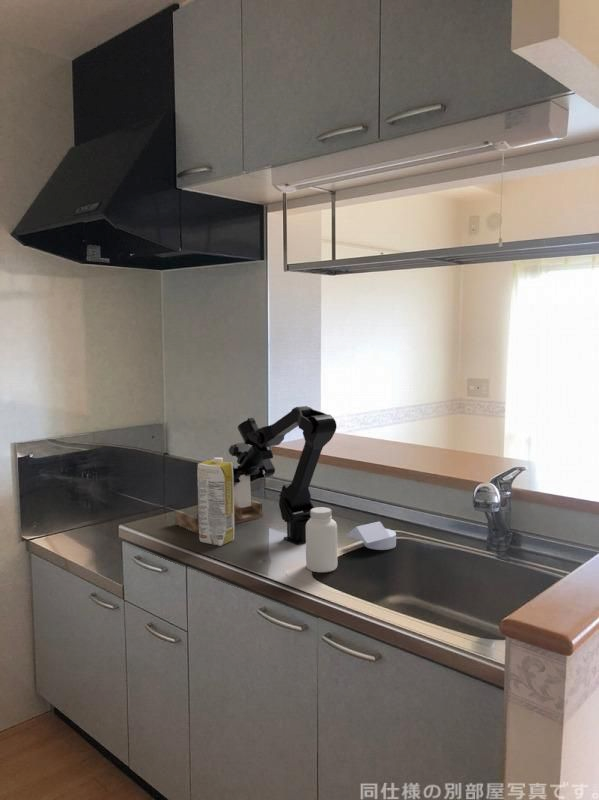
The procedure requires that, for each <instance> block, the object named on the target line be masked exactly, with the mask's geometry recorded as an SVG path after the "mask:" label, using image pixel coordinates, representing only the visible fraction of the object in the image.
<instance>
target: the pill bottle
mask: <svg viewBox="0 0 599 800" xmlns="http://www.w3.org/2000/svg"><path fill="white" fill-rule="evenodd" d="M310 516H311V518H310V519H309V521H307V523H306V542H305V565H306V568H307V569H308V571H311V572H314V573H315V572H316V573H330V572H333V571H335V570H336V569H337V568H338V524H337V522H336V521H335V520H334V519H333V516H332V509H331V508H330V507H324V506H320V507H318V506H317V507H314V508H313V509H311V510H310Z"/></svg>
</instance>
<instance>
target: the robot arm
mask: <svg viewBox="0 0 599 800" xmlns="http://www.w3.org/2000/svg"><path fill="white" fill-rule="evenodd" d="M296 428H298V429H300V430H301V431H302V435H303V439H304V445H303V448H302V450H301V454H300V457H299V460H298V463H297V466H296V469H295V473H294V476H293V479H292V482H291V483H287V484H283V485H282V487H281V492H280V494H279V495H278V497H279V501H278V505H279V510H280V516H281V519H282V521H284V522H285V523H286V533H287V534H286V535H287V536H283V540H285V541H288V542H290V543H293V544H295V545H301V544H303V543H306V523H307V521H309V520H310V519H311V516H310V510H311V509H313V508H315V507H314V504H313V503H312V501H311V497H312V495H311V492H310V489H309V487H310V484H311V482H312V479H313V476H314V473H315V470H316V468H317V464H318V462H319V459H320V455H321V454H322V450H323V449H324V447H325V446H326V445H327V444H328V443H329V442H330V441H331V440H332V439H333V437H334V434H335V433H336V431H337V422H336V419H335V418H334V417H333V415H331V414H327V413H325V412H322V411H318V410H316V409H313V408H312V407H309V406H307V405H305V406H302V405H301V406H296V407H293V408H292V409H291V411H289V412H288V413H286V414H285V415H283V417H281V418H280V419H278V420H277V421H276V422H274V423H272V424H268V425H265V426H263V427H262V426H261V427H260V428H259V426H258V424H257V422H256V419H255V418H254V417H249V418H247V420H244V421H243V422H241V423H240V424H238V426H237V430H238V432H239V434H240V436H241V438H242V440H243V442H239V443H234V444H231V445H230V446H229V448H228V453H229V454H230V455H231V457H236V458H237V459H236V463H237V465H238V464H240V466H237V467H238V468H235V469H234V467H233V479H234V486H235V485H236V484H238V483H239V482H240V480H239V478H240V476H241V475H245V476H250V484H251V483H253V482H256V481H259V480H260V479H264V478H265V477H273V476H274V474H275V473H276V468H275V465H274V464H273V461H272V460H271V459H274V454H273V451H272V450H271V447H276V446H279V445H280V444H282V442H283V441H284V440H285V436H286V435H287V434H288V433H290V432H291V431H293V430H295V429H296ZM298 512H299V513H298ZM294 513H295V514H294Z"/></svg>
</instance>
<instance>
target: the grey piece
mask: <svg viewBox="0 0 599 800" xmlns="http://www.w3.org/2000/svg"><path fill="white" fill-rule="evenodd" d="M232 465H233V467H234V469H235V468H238V467H237V466H240V464H238V463H237V464H232ZM239 480H240V482H239V483H238V484H236V485H235V486H234V505H235V506H238V507H241V508H244V507H248V506H251V500H252V492H251V489H252V488H251V483H250V476H245V475H241V476H240V478H239Z"/></svg>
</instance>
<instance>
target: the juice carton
mask: <svg viewBox="0 0 599 800" xmlns="http://www.w3.org/2000/svg"><path fill="white" fill-rule="evenodd" d="M233 465H234V464H233V462H231V461H230V462H229V461H228V462H227V461H225V462H224V458H223V457H213V459H210V460H209V459H208V460H205V461H202V462H199V463H197V472H196V473H197V474H196V475H197V506H198V517H199V533H198V536H199V541H200V542H201V543H203V544H204V543H205V544H209V545H210V544H211V545H214V546H219V547H221V546H224V545H226V544H229V543H230V542H232V541H234V539H235V524H234V479H233Z"/></svg>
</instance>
